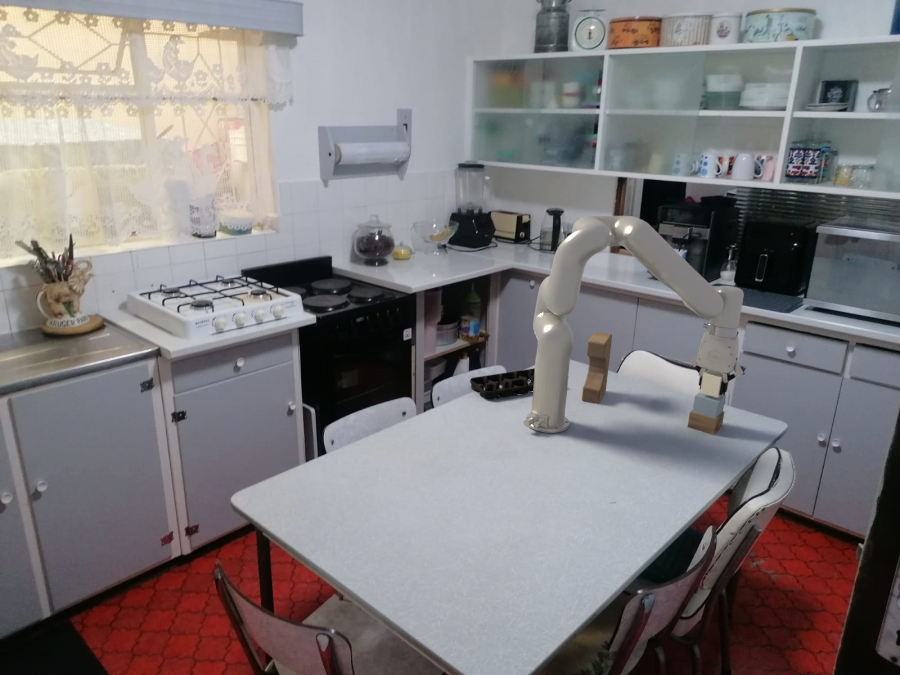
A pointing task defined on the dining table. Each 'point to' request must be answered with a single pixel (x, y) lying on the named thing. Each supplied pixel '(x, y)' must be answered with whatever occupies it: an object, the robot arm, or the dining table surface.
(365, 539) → the dining table surface
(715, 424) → the tower base
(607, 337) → the decorative block
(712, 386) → the cream block
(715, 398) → the tower top
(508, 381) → the egg carton
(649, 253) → the robot arm
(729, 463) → the dining table surface
